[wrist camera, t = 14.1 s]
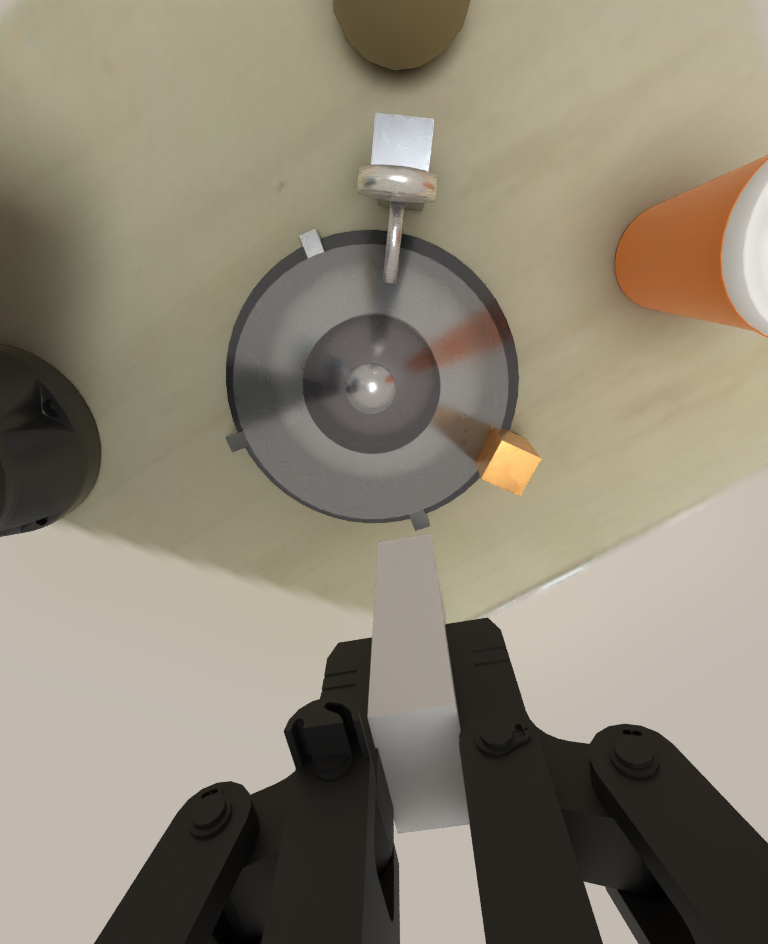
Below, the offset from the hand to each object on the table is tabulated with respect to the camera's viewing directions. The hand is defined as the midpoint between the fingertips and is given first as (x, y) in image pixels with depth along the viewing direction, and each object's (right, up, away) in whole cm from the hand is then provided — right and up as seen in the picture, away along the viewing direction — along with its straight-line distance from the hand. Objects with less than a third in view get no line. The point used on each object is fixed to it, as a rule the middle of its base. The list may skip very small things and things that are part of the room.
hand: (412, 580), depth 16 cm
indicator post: (0, +21, +23) cm, 31 cm away
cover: (-1, +10, +24) cm, 26 cm away
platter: (-1, +9, +25) cm, 27 cm away
